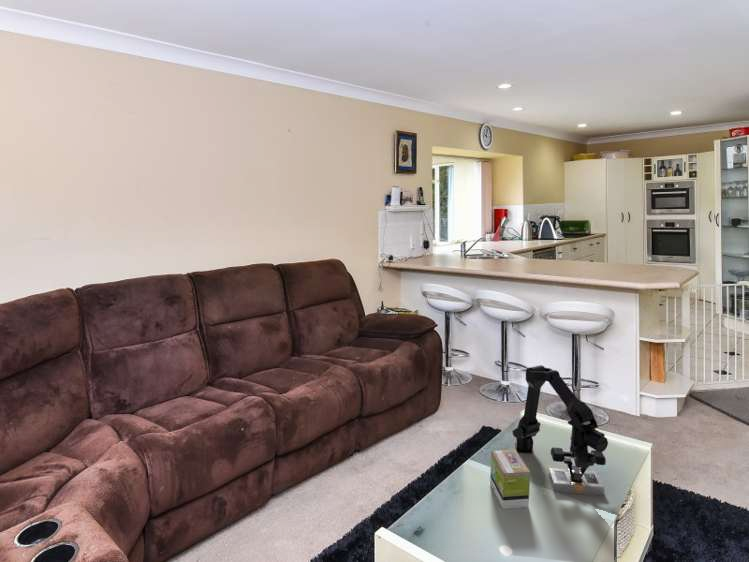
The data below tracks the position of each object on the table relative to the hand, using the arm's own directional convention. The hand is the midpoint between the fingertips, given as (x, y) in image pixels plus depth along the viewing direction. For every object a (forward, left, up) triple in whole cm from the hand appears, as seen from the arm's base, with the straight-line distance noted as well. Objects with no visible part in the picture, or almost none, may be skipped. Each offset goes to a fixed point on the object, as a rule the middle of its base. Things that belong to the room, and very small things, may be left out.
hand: (575, 476), depth 192 cm
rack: (0, 0, -4) cm, 4 cm away
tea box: (-26, -10, -4) cm, 28 cm away
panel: (0, 0, -3) cm, 3 cm away
